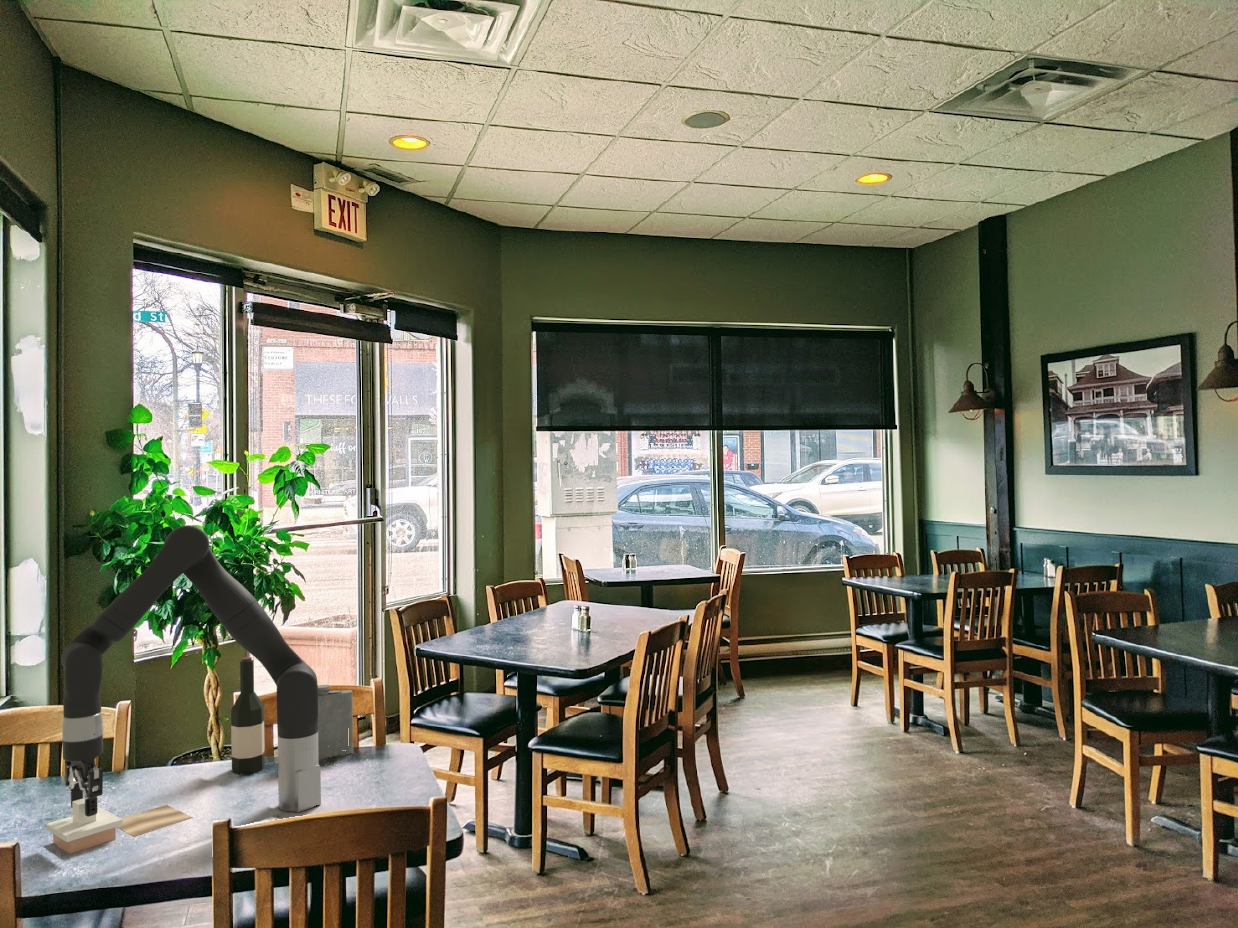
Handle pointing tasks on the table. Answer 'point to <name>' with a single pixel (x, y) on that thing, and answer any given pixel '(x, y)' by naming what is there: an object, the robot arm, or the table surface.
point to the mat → (152, 820)
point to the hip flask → (334, 722)
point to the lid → (83, 823)
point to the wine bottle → (247, 725)
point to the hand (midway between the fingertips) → (84, 810)
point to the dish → (85, 841)
